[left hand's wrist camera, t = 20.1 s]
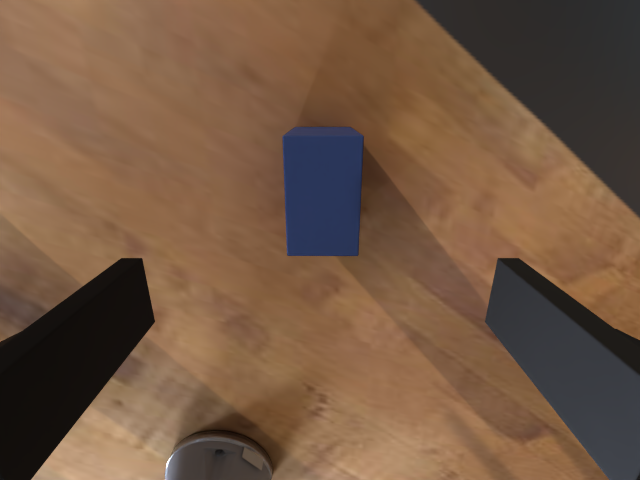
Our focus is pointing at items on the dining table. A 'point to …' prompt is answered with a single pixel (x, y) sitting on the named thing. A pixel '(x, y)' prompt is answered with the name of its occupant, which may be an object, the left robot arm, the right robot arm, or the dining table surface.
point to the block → (322, 190)
